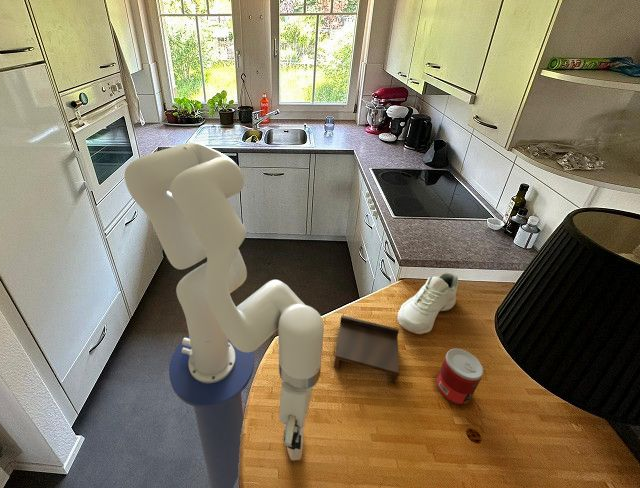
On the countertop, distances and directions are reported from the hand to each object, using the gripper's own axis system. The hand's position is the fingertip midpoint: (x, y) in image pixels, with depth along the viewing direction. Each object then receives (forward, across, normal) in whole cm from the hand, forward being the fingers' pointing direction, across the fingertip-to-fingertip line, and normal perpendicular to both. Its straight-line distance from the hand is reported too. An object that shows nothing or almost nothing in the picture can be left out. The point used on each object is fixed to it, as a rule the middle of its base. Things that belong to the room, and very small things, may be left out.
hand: (298, 418), depth 66 cm
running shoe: (+12, -48, +31) cm, 59 cm away
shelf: (+12, -27, +13) cm, 33 cm away
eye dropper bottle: (+12, 0, -1) cm, 12 cm away
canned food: (+13, -24, +35) cm, 45 cm away
